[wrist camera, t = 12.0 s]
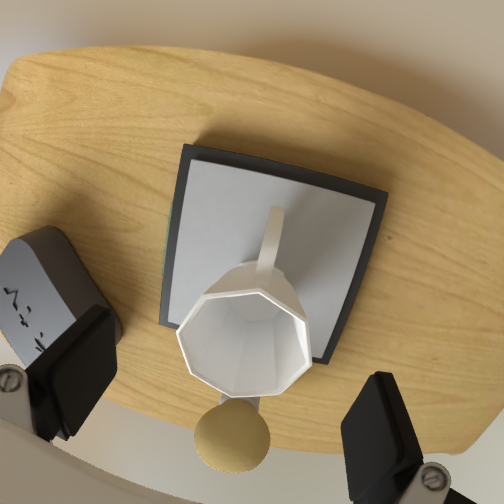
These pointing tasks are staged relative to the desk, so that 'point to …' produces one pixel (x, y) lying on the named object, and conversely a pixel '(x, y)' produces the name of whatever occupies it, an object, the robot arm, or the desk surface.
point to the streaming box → (43, 292)
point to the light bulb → (233, 435)
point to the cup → (249, 327)
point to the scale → (253, 228)
